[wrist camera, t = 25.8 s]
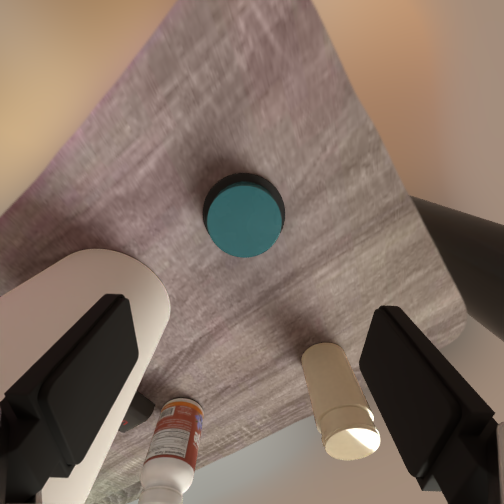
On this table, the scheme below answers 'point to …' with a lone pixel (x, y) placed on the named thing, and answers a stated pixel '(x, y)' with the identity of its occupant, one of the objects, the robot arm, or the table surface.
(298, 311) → the table surface
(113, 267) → the canister
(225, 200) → the jar lid
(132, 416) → the usb drive
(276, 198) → the coaster
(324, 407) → the jar
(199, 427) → the pill bottle
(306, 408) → the table surface
